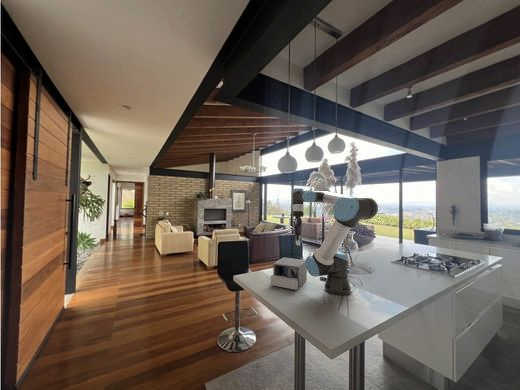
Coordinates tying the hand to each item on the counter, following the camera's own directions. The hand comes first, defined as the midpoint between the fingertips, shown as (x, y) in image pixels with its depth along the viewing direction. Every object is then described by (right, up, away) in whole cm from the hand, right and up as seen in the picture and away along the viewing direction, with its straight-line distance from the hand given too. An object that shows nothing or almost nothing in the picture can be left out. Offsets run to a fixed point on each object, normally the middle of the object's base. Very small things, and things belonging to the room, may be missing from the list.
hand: (298, 245), depth 151 cm
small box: (-5, -22, -4) cm, 23 cm away
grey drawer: (-7, -23, -7) cm, 25 cm away
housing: (-6, -24, -4) cm, 25 cm away
